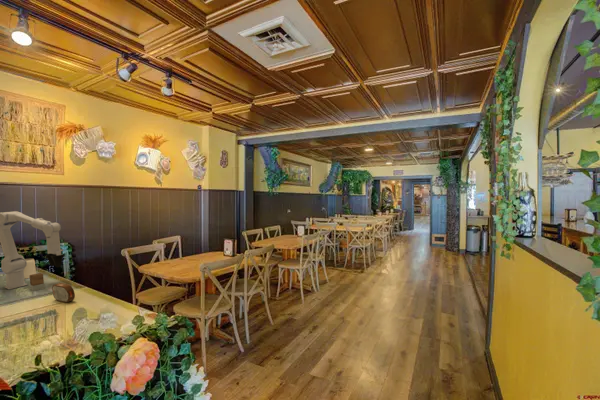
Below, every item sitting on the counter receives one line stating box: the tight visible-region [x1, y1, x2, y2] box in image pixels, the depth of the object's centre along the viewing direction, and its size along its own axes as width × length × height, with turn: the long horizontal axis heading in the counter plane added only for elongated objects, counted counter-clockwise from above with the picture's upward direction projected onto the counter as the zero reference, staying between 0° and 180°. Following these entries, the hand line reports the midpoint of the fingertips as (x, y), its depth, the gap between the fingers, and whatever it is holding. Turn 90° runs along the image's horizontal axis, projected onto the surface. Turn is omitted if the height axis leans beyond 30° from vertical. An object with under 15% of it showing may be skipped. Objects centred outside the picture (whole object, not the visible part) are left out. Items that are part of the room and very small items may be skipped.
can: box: [24, 257, 37, 280], centre depth 181 cm, size 6×6×12 cm
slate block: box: [30, 282, 46, 292], centre depth 157 cm, size 5×5×3 cm
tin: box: [51, 282, 76, 303], centre depth 136 cm, size 15×3×8 cm, turn 65°
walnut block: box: [29, 272, 45, 286], centre depth 157 cm, size 4×4×6 cm
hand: (55, 266), depth 164 cm, fingers open, 7 cm apart
